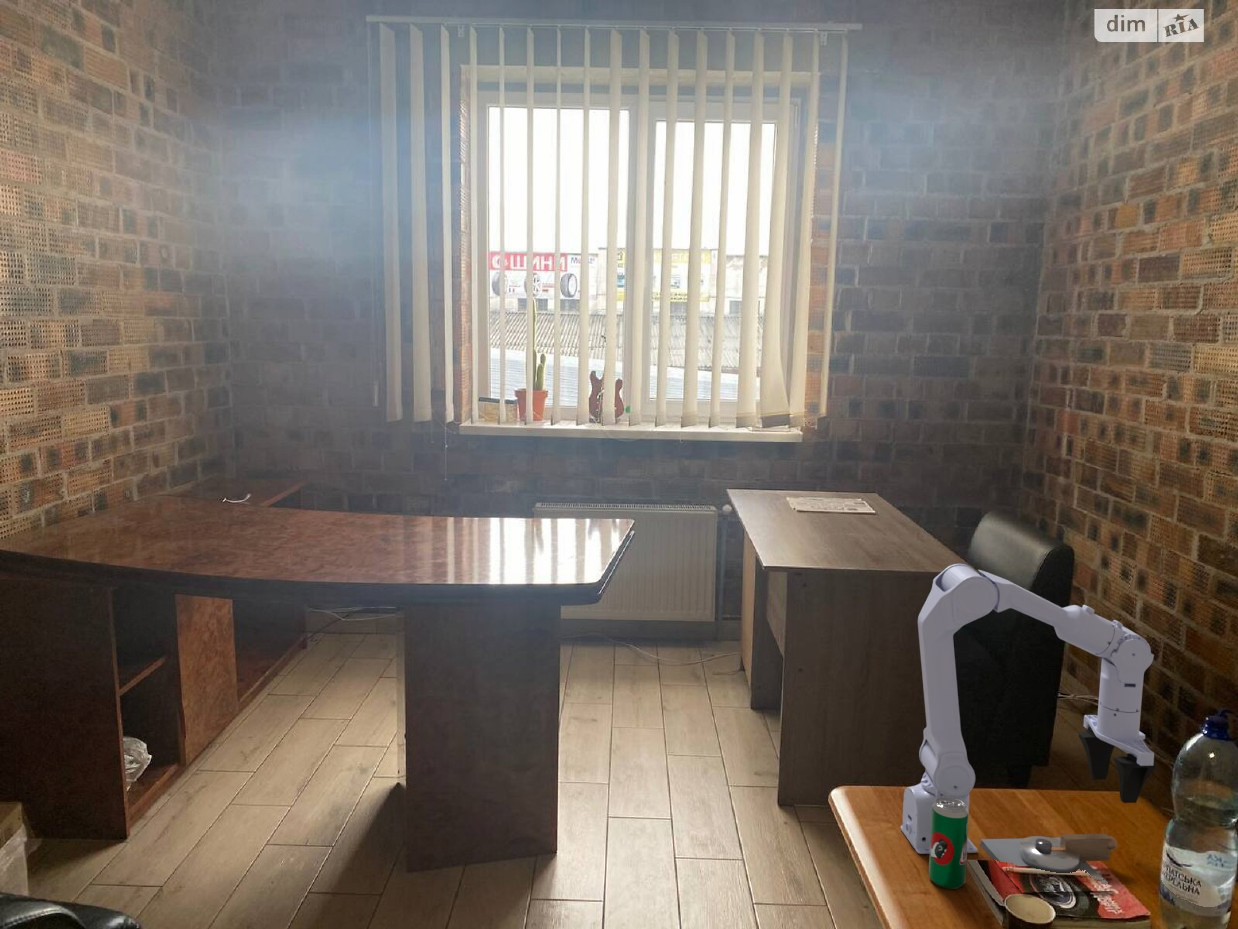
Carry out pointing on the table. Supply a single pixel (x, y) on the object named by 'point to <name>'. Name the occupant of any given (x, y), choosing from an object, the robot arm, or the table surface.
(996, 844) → the stand plate
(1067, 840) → the cam
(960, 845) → the soda can
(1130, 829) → the table surface
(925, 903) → the table surface
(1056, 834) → the table surface
